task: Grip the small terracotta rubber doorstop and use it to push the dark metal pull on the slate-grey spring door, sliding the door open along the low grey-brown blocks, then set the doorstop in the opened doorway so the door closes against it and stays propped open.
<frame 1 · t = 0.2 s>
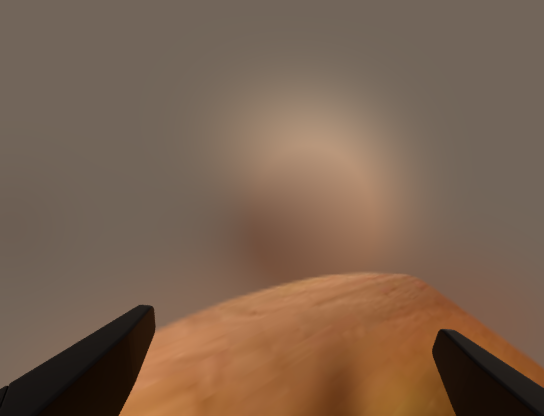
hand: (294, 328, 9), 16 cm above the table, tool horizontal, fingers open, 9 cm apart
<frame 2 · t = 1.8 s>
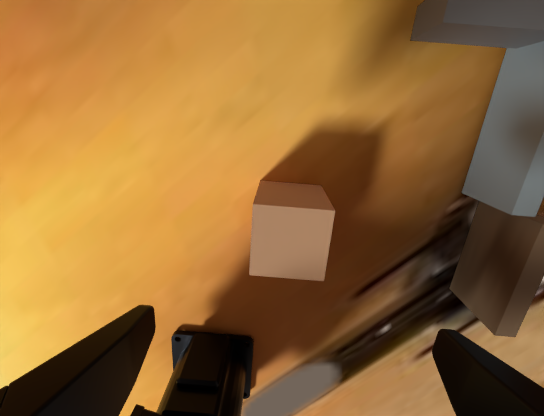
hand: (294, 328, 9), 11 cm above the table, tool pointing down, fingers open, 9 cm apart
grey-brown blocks: (511, 135, 17), on the table
sliding door: (471, 111, 14), point 2 cm above the table, slide at 0.0 cm
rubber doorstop: (287, 211, 19), on the table
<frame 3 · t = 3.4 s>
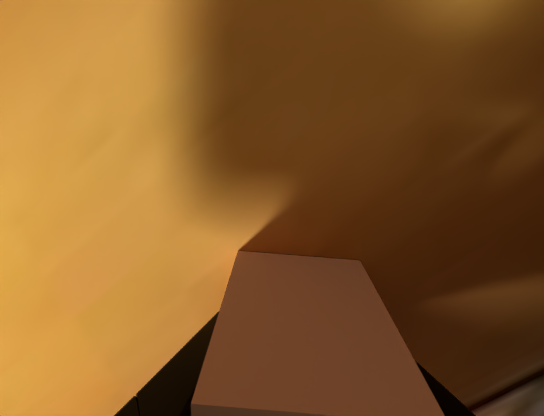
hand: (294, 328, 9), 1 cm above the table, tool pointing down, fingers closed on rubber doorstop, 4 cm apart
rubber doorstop: (292, 306, 10), on the table, touching gripper
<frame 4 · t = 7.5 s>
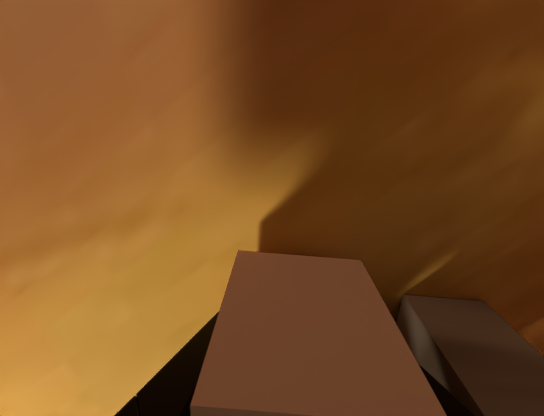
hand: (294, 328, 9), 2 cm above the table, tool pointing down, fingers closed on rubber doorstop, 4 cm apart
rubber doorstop: (293, 306, 10), point 1 cm above the table, touching gripper
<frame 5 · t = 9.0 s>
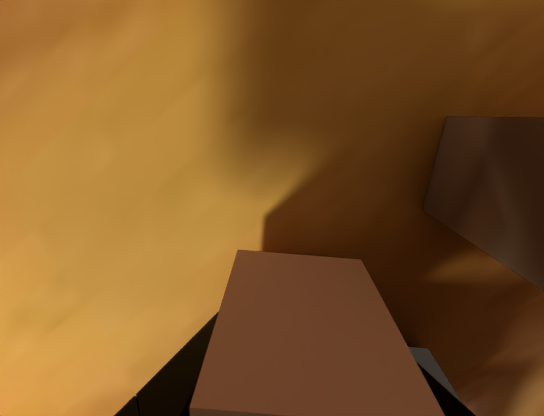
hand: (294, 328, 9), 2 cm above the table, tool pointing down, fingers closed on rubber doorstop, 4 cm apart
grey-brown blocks: (443, 352, 11), on the table
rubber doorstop: (293, 305, 10), point 1 cm above the table, touching gripper, sliding door
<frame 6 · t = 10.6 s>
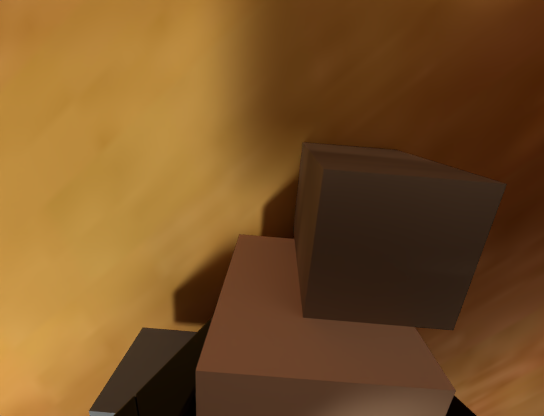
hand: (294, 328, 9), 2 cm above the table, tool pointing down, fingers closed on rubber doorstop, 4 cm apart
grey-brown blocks: (335, 362, 12), on the table
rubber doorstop: (294, 291, 10), point 1 cm above the table, touching gripper, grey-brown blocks
when the fingers open (2 cm above the table, at t = 11.6 s): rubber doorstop stays where it is, resting on sliding door, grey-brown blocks.
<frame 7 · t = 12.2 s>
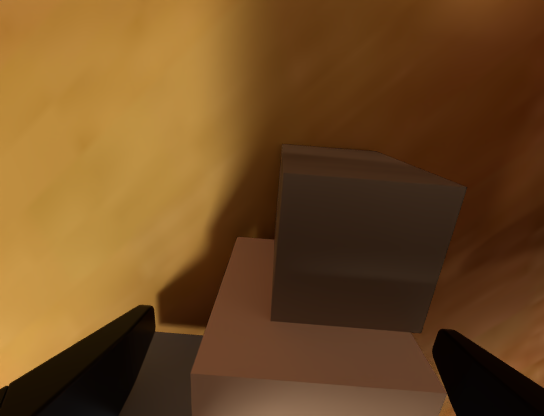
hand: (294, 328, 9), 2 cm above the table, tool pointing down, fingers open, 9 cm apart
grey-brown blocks: (320, 363, 12), on the table
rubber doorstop: (292, 292, 10), point 1 cm above the table, touching sliding door, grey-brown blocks
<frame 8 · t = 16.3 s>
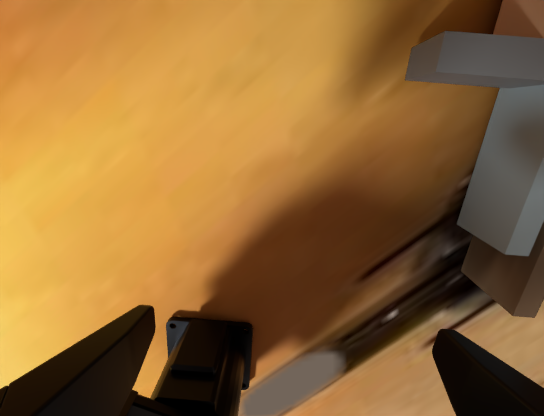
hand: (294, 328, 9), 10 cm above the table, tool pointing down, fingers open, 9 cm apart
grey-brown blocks: (529, 102, 15), on the table
sliding door: (465, 151, 14), point 2 cm above the table, slide at 3.8 cm, touching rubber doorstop
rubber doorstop: (540, 12, 13), point 1 cm above the table, touching sliding door, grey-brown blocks
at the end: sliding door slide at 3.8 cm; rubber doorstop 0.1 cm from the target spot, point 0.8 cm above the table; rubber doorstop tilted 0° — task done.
